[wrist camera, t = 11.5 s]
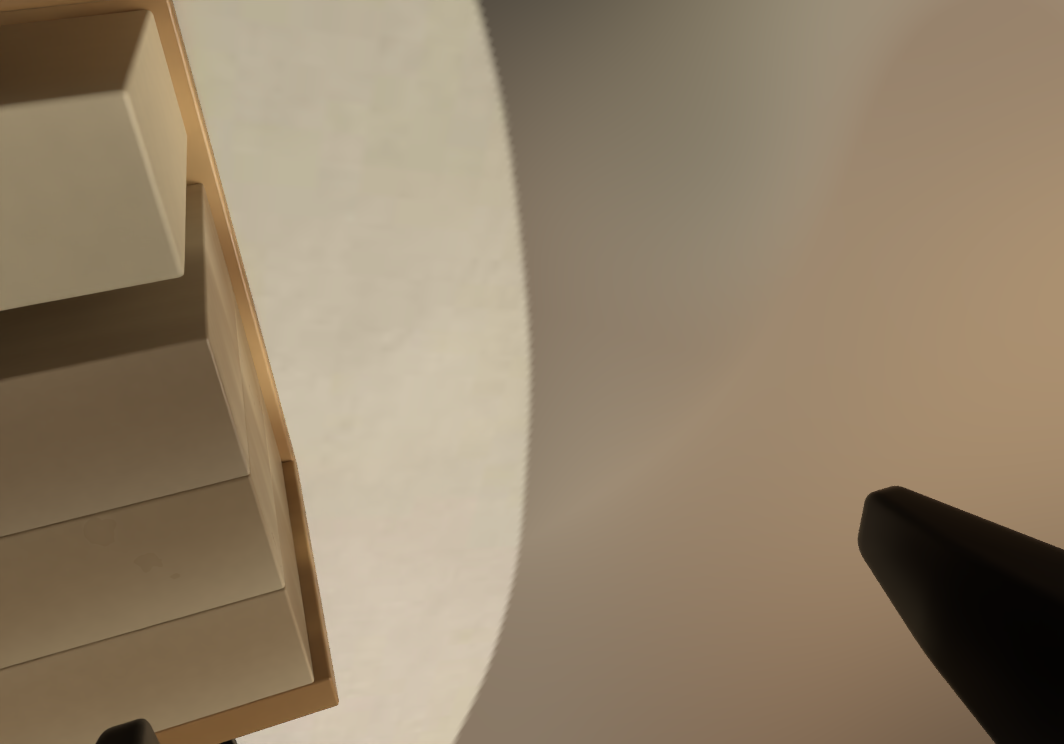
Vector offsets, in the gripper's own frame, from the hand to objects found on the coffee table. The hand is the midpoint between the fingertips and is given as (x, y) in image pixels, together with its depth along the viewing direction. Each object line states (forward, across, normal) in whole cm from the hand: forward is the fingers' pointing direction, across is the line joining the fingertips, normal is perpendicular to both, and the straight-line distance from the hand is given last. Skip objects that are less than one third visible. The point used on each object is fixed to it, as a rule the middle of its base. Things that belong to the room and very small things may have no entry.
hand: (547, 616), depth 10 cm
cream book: (+11, +6, -4) cm, 13 cm away
